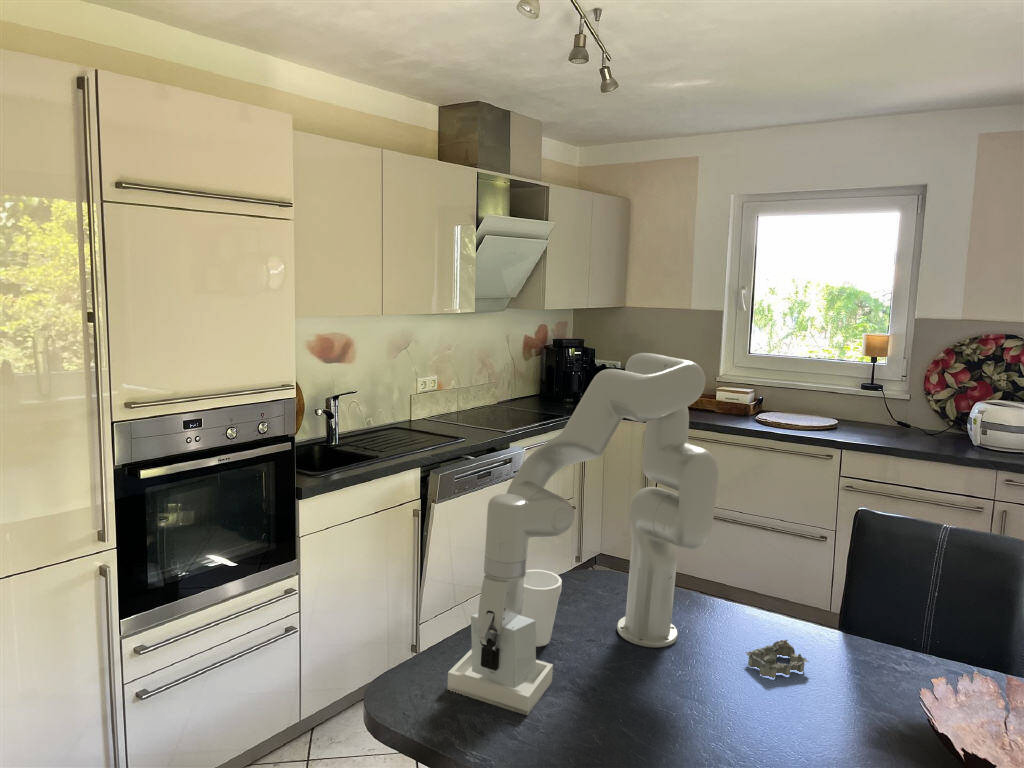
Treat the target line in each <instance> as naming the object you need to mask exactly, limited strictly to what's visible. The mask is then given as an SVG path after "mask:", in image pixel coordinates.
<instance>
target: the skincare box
mask: <svg viewBox="0 0 1024 768" xmlns="http://www.w3.org/2000/svg"><path fill="white" fill-rule="evenodd" d="M477 620H478V612H477V613H475V614H473V615H470V627H471V629H470V631H471V649H472V672H475V673H477V674H480V675H482V676H485V677H487V678H490V679H492V680H494V681H497V682H499V683H502V684H504V685H507V686H509V687H511V688H516V687H518V686H519V685H521V684H523V683H525V682H526V681H528V680H530V679H531V678H533V677H535V676H536V660H537V652H536V651H537V647H536V625H535V620H533V619H530V618H527V617H524V616H521V615H517V616H516V617H515V618H514V619H513V620H512V621H510V622H509V623H508V624H507V625H506V626H505V627H504V629H503V634H501V635H500V639H499V643H498V647H497V648H499V664H498V669H497V670H496V671H494V670H491V669H488V668H485V667H482V666H481V650H482V647H481V643H480V639H479V637H478V635H479V632H480V630H479V629H478V627H477ZM491 630H495V631H497V629H496V627H495V626H492V627H491ZM489 638H490V639H492V640H493V642H494V638H495V634H492V633H489Z"/></svg>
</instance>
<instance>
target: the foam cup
mask: <svg viewBox="0 0 1024 768" xmlns="http://www.w3.org/2000/svg"><path fill="white" fill-rule="evenodd" d="M562 585H563V580H562V578H561V577H560V575H558V574H556V573H555V572H552V571H549V570H544V569H528V570H527V569H526V576H525V577H524V597H523V609H522V613H521V616H524V617H527V618H530V619H533V620H535V625H536V648H537V647H538V648H540V647H544V646H547V645H549V643H550V642H551V637H552V633H553V632H552V631H553V627H554V623H555V618H556V615H557V614H556V613H557V608H558V604H559V603H558V602H559V599H560V596H561V593H562Z"/></svg>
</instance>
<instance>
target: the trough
mask: <svg viewBox="0 0 1024 768" xmlns="http://www.w3.org/2000/svg"><path fill="white" fill-rule="evenodd" d="M553 671H554V664H552V663H549V662H545V661H542V660H540V659H536V676H535V677H533V678H531V679H530V680H528V681H526V682H525V683H523V684H521V685H519V686H518V687H516V688H511V687H509V686H507V685H504V684H502V683H499V682H497V681H494V680H492V679H490V678H487V677H485V676H482V675H480V674H477V673H475V672H472V648H470V649H469V651H468V652H466V653H465V655H464V656H463V657H462V658H461V659H460V660H459V661H457V663H455V664H454V666H453V667H452V668H450V669H449V671H448V672H447V691H448V690H450V691H449V692H452V691H453V692H452V693H455V692H456V694H458V693H459V695H461V694H462V696H465V697H467V696H468V698H471V699H474V700H477V701H481V702H483V703H487V704H490V705H493V706H496V707H500V708H502V709H506V710H509V711H512V712H515V713H517V714H518V713H519V714H521V715H525V716H529V714H530V713H531V712H532V710H533V709H534V708H535V706H536V705H537V704H538V702H539V701H540V699H541V698H542V696H543V695H544V694H545V692H546V691H547V690H548V688H549V687H550V685H552V682H553Z"/></svg>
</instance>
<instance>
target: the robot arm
mask: <svg viewBox="0 0 1024 768" xmlns="http://www.w3.org/2000/svg"><path fill="white" fill-rule="evenodd" d="M705 387H706V375H705V372H704V371H703V369H702V367H701V366H700V364H698V363H696V362H694V361H691V360H688V359H683V358H678V357H677V358H676V357H671V356H667V355H662V354H657V353H651V352H640V353H635V354H633V355H631V356H630V357H628V360H627V361H626V364H625V370H622V369H617V368H606V369H603V370H601V371H599V372H598V373H597V374H595V376H594V377H593V379H592V380H591V382H590V383H589V385H588V386H587V389H586V390H585V392H584V394H583V395H582V397H581V398H580V401H579V402H578V404H577V405H576V408H575V410H574V411H573V413H572V415H571V416H570V418H569V419H568V421H567V422H566V425H565V426H564V427H563V429H562V430H561V432H560V433H559V434H558V435H555V436H554V437H553V438H551V439H549V440H548V441H547V442H545V443H543V444H542V445H541V446H539V447H538V448H537V449H535V450H534V451H532V452H531V454H530V455H528V457H527V458H526V459H524V461H523V462H522V464H521V465H520V467H519V468H518V470H517V472H516V474H515V475H514V477H513V479H512V480H511V482H510V484H509V485H508V487H507V488H508V489H507V491H506V493H500V494H497V495H494V496H492V497H491V498H490V499H489V501H488V504H487V514H486V528H485V529H486V530H485V533H486V534H485V548H484V559H483V560H484V563H483V574H484V576H483V581H482V584H481V588H480V589H481V590H480V596H479V603H478V612H477V613H478V620H477V627H478V629H479V630H480V632H479V635H478V637H479V639H480V643H481V647H482V650H481V666H482V667H485V668H488V669H491V670H494V671H496V670H497V669H498V664H499V648H497V647H498V643H499V639H500V635H501V634H503V629H504V627H505V626H506V625H507V624H508V623H509V622H510V621H512V620H513V619H514V618H515V617H516V616H517V615H521V613H522V609H523V597H524V577H525V576H526V571H527V564H528V553H529V552H528V551H529V540H530V538H554V537H558V536H560V535H563V534H565V533H566V532H567V531H569V530H570V528H571V527H572V526H573V523H574V521H575V511H574V507H573V506H572V504H571V503H570V502H569V501H568V499H566V498H564V497H563V496H561V495H559V494H556V493H555V492H552V491H550V490H548V489H546V488H545V486H546V485H547V483H548V482H549V481H550V479H552V477H553V476H554V475H555V474H557V473H558V472H560V470H562V469H563V468H566V467H568V466H570V465H571V466H572V465H574V464H578V463H582V462H587V461H592V460H595V459H598V458H600V457H601V456H602V455H603V454H604V452H605V451H606V448H607V447H608V445H609V443H610V441H611V440H612V438H613V437H614V434H615V433H616V431H617V428H618V427H619V426H620V424H621V422H622V420H623V419H624V418H625V419H629V420H631V421H635V422H640V423H644V422H645V433H644V443H643V451H642V462H641V463H642V465H641V466H642V472H643V474H644V475H645V477H646V478H648V479H649V480H650V481H652V482H654V483H656V484H660V485H661V486H664V487H666V488H669V489H673V490H675V491H678V494H677V493H675V492H672V491H669V490H667V489H663V488H660V487H658V486H657V487H655V486H647V487H643V488H641V489H639V490H638V491H636V492H635V494H634V495H633V497H632V498H631V501H630V504H629V513H628V514H629V523H630V532H631V545H630V546H631V547H630V548H631V549H630V561H629V571H628V572H629V573H628V583H627V584H628V585H627V595H626V604H625V605H626V607H625V615H624V616H623V617H621V618H620V619H619V620H618V622H617V626H616V629H617V632H618V634H619V635H620V636H621V637H622V638H623V639H624V640H625V641H627V642H629V643H631V644H634V645H637V646H640V647H646V648H663V647H664V648H665V647H668V646H671V645H672V644H674V643H675V642H676V641H677V640H678V630H677V627H676V626H675V625H674V624H672V617H673V616H672V615H673V605H674V596H675V584H676V573H677V568H678V567H677V566H678V553H677V547H679V548H682V549H684V550H689V551H693V550H694V551H695V550H699V549H700V548H702V547H703V546H704V545H705V544H706V542H707V541H708V539H709V537H710V535H711V531H712V528H713V523H714V516H715V508H716V500H717V492H718V485H719V474H720V473H719V467H718V462H717V460H716V458H715V456H714V455H713V454H712V452H710V451H709V450H707V449H706V448H703V447H700V446H696V445H694V444H691V443H690V442H689V429H690V428H689V427H690V414H689V413H690V412H689V406H691V405H692V404H694V403H695V402H696V401H698V400H699V398H701V396H702V394H703V392H704V390H705ZM492 626H495V627H496V629H497V631H495V630H491V627H492ZM489 633H492V634H495V638H494V642H493V640H492V639H490V638H489Z"/></svg>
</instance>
